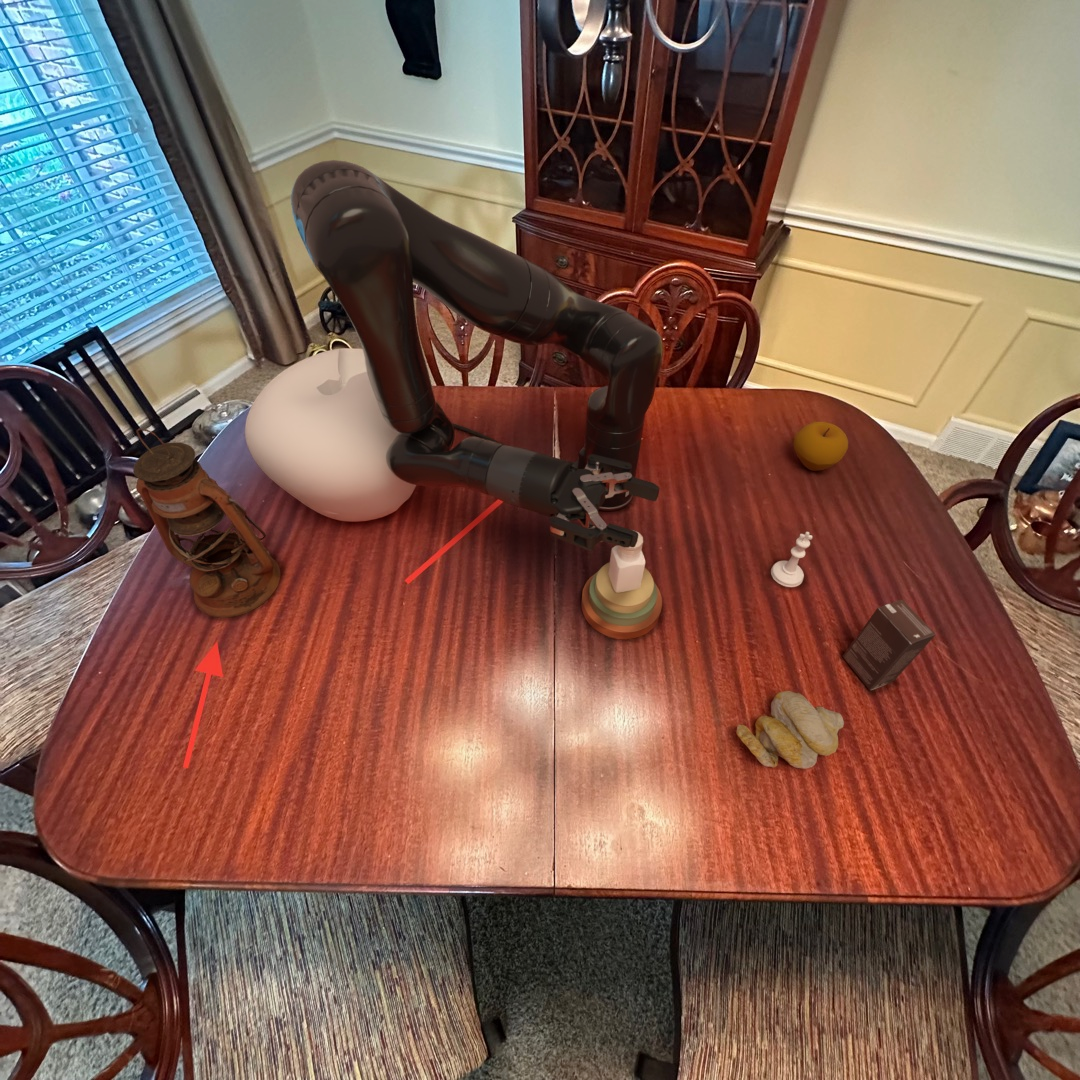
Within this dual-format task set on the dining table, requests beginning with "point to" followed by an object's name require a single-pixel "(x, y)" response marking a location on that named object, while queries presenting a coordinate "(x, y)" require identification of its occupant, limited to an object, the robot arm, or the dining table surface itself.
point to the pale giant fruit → (327, 438)
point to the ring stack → (621, 606)
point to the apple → (820, 445)
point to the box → (887, 644)
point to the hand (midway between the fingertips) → (647, 516)
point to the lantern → (196, 507)
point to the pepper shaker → (627, 567)
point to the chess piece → (792, 564)
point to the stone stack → (793, 732)
